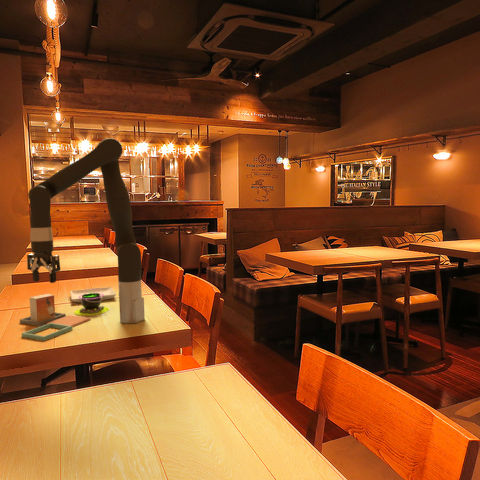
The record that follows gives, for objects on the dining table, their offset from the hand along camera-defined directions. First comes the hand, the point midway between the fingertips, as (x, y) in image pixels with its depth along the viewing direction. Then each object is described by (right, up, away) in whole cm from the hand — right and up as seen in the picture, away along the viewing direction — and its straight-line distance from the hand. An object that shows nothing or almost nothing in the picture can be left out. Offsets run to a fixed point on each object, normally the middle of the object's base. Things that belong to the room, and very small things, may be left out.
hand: (44, 281), depth 152 cm
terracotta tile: (+3, -19, +16) cm, 24 cm away
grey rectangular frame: (-10, -18, +19) cm, 28 cm away
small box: (-10, -19, +19) cm, 29 cm away
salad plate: (-3, -15, +57) cm, 59 cm away
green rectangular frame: (0, -20, +2) cm, 20 cm away
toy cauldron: (+6, -17, +33) cm, 37 cm away
